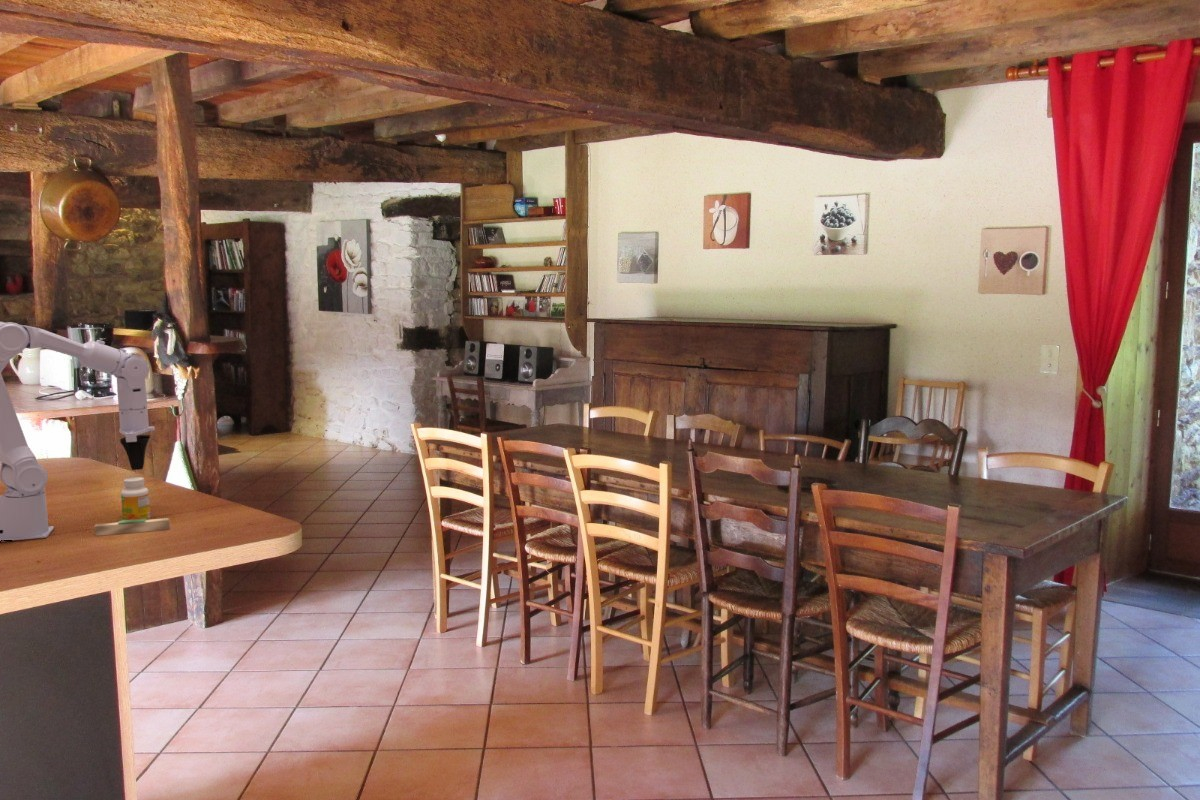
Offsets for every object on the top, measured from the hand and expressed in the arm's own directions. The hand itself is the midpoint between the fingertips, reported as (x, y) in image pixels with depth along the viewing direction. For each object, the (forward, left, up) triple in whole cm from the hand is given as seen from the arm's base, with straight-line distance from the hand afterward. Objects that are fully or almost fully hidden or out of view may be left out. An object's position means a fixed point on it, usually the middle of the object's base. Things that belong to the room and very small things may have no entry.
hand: (137, 469), depth 216 cm
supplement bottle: (0, -8, -11) cm, 13 cm away
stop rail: (0, -15, -10) cm, 18 cm away
